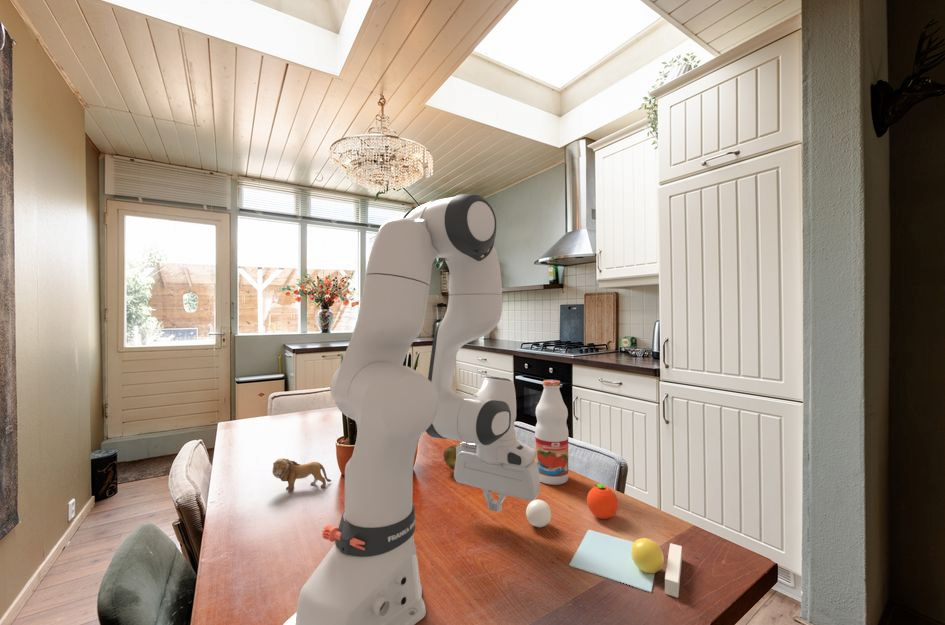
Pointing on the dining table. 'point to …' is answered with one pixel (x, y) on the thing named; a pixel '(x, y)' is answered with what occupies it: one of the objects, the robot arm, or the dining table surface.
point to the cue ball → (538, 513)
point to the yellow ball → (647, 555)
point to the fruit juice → (551, 435)
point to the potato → (450, 456)
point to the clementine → (602, 501)
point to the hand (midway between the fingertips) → (494, 509)
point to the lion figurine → (298, 472)
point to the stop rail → (673, 570)
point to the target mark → (611, 560)
